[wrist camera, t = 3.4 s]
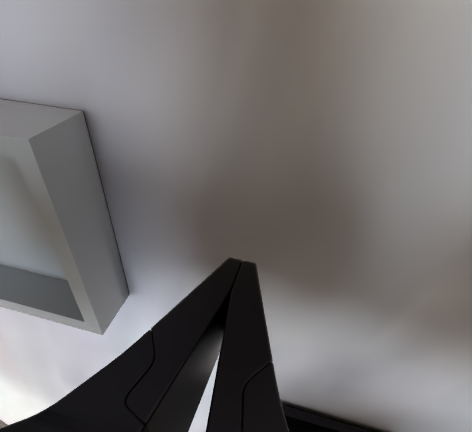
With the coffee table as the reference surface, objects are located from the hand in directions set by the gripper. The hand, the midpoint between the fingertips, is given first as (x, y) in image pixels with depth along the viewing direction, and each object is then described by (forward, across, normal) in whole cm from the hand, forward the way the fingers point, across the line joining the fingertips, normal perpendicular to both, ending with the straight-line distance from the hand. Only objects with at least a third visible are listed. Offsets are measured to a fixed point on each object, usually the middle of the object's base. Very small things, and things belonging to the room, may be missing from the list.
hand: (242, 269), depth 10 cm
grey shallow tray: (+1, +10, 0) cm, 10 cm away
